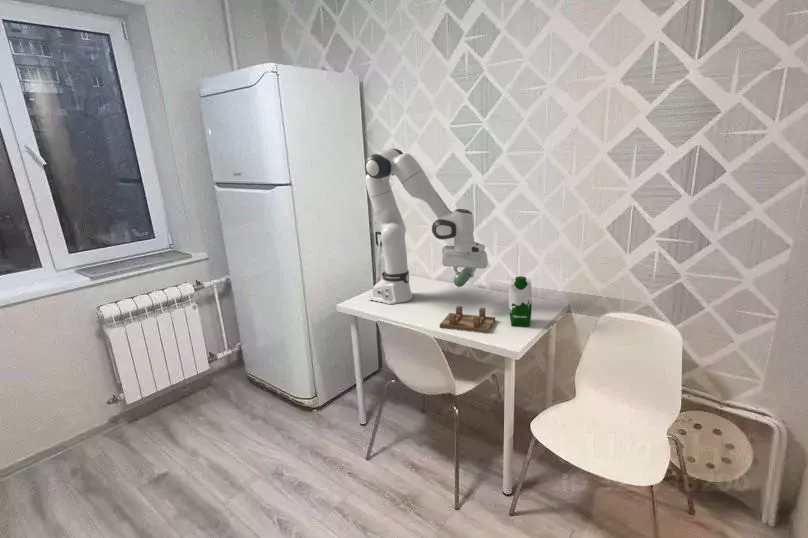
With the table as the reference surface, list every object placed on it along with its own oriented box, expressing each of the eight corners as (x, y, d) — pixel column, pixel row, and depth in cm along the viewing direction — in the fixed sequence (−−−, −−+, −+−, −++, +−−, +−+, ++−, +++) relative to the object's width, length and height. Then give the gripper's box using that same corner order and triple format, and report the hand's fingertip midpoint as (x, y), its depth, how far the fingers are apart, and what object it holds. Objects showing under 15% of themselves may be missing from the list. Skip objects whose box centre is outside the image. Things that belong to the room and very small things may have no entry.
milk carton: (509, 327, 168) (509, 279, 162) (508, 318, 176) (509, 272, 171) (532, 327, 165) (532, 279, 160) (530, 318, 174) (531, 272, 169)
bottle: (466, 280, 178) (457, 273, 179) (461, 289, 180) (451, 282, 181) (478, 267, 194) (469, 261, 195) (473, 275, 197) (464, 269, 198)
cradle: (488, 333, 163) (487, 320, 162) (439, 327, 171) (439, 315, 170) (495, 320, 174) (495, 308, 173) (449, 316, 183) (449, 304, 181)
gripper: (439, 247, 185) (440, 276, 188) (484, 248, 176) (485, 280, 180) (444, 243, 190) (445, 273, 194) (488, 245, 181) (488, 276, 185)
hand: (464, 276), depth 187 cm, fingers closed on bottle, 5 cm apart
